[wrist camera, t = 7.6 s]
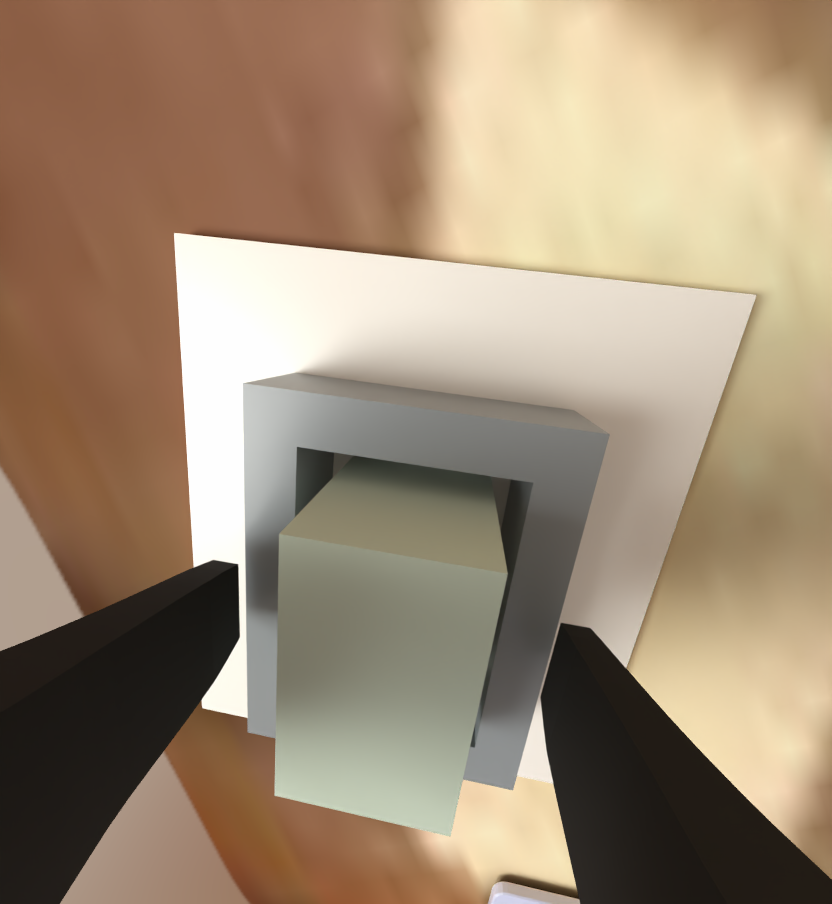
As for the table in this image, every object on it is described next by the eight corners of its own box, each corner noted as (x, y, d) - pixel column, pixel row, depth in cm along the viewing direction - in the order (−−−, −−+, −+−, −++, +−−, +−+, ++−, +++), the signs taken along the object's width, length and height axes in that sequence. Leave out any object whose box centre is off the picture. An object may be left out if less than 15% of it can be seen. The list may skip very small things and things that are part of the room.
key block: (489, 468, 11) (508, 573, 6) (456, 644, 12) (450, 836, 8) (361, 448, 11) (279, 533, 6) (346, 623, 13) (274, 795, 8)
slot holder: (580, 777, 14) (610, 892, 11) (209, 698, 15) (148, 783, 12) (744, 296, 9) (871, 277, 6) (185, 236, 10) (76, 198, 7)
